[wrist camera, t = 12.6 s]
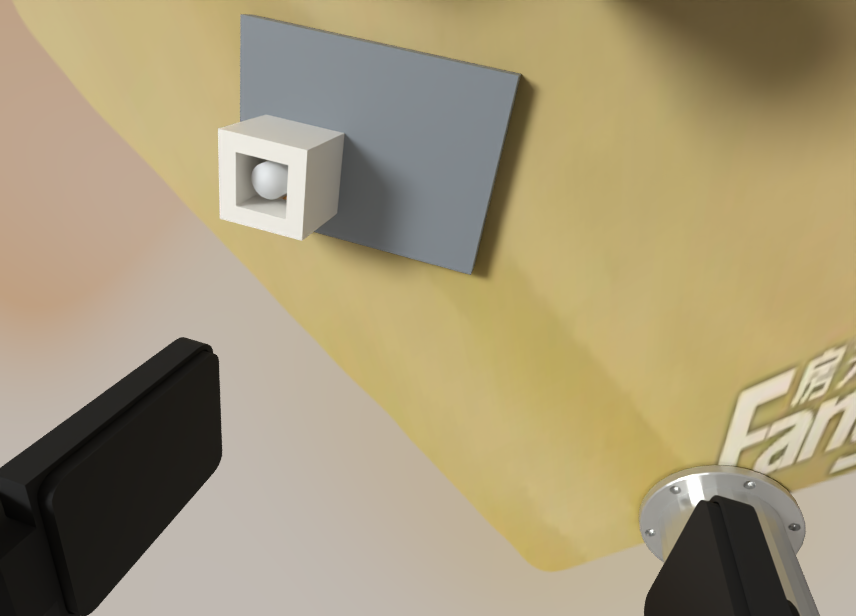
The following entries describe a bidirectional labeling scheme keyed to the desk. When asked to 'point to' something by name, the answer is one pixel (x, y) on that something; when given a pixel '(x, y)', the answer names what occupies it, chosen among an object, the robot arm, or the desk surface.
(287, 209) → the white hollow cube
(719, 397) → the desk surface
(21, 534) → the robot arm
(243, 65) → the post board
